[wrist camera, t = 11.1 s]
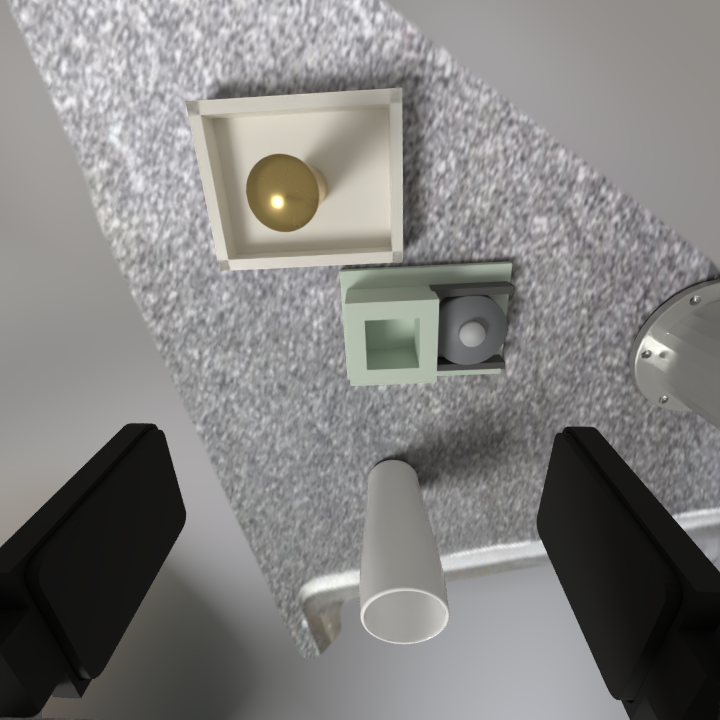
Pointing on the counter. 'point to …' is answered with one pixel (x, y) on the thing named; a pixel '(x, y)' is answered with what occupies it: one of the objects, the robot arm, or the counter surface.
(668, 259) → the counter surface
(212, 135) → the tray
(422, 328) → the green socket holder
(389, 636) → the drinking glass
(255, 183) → the pin
